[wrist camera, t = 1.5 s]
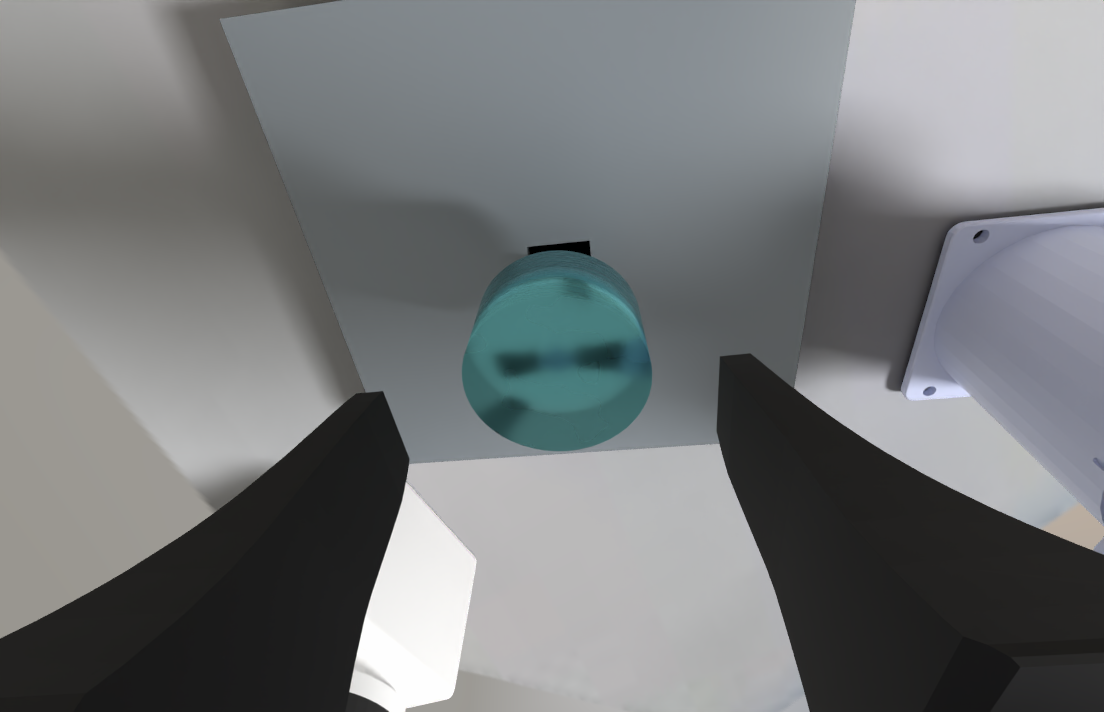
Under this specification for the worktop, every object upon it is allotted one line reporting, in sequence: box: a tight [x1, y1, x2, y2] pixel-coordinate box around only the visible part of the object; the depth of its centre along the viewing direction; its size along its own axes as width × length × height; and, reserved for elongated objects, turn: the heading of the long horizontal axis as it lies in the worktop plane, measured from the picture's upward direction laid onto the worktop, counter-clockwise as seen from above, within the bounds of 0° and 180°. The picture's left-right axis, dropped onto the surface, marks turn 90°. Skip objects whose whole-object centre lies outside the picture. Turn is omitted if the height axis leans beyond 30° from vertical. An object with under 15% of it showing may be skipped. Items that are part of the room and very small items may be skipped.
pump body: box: [219, 0, 856, 464], centre depth 19 cm, size 16×16×4 cm
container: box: [345, 482, 477, 712], centre depth 25 cm, size 8×8×13 cm
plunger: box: [462, 250, 652, 451], centre depth 15 cm, size 4×4×6 cm
